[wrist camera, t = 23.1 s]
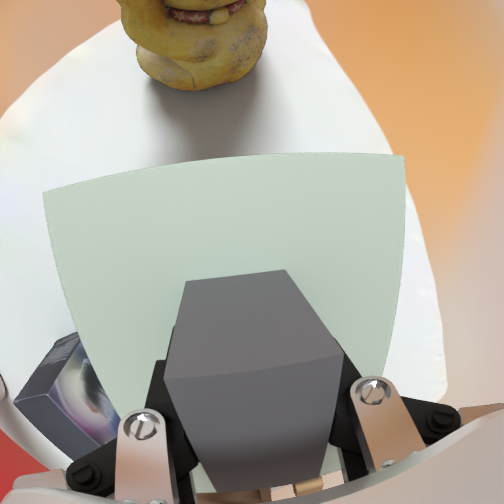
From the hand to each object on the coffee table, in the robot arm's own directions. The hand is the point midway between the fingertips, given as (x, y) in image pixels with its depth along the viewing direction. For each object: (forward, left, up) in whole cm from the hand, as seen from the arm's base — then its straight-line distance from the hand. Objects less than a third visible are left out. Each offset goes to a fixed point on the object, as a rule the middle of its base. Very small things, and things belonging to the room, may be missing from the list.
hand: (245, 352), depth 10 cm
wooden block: (+7, -36, -13) cm, 39 cm away
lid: (0, -4, -2) cm, 4 cm away
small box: (-15, -11, -13) cm, 23 cm away
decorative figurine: (0, +17, -13) cm, 21 cm away
